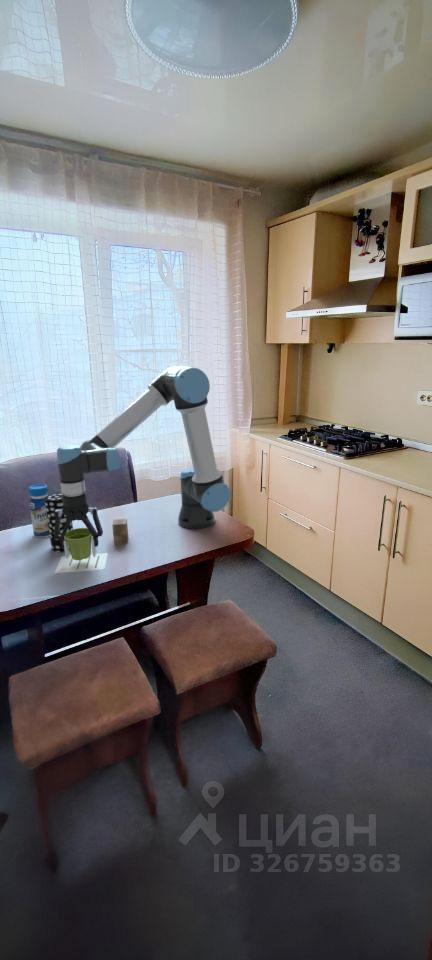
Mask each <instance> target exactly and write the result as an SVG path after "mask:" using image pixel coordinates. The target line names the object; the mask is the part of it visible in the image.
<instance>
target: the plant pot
mask: <svg viewBox="0 0 432 960" xmlns="http://www.w3.org/2000/svg"><path fill="white" fill-rule="evenodd" d="M64 538H65V539H66V541H67V543H68V546H69V549H70V550H69V553H70V556H72V558H73V559H74V560H82V559H87V558H89V557H90V555H91V554H92V553H91V552H92V542H91V538H92V534H91V533H90V532H89V530H88V528H87V527H77V528H73V530H70V531H68V532H66V535H65V536H64Z"/></svg>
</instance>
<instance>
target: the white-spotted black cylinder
mask: <svg viewBox="0 0 432 960" xmlns="http://www.w3.org/2000/svg"><path fill="white" fill-rule="evenodd" d="M47 495H48V496H46V497H45V498H44V499H45V506H46V513H47V520H48V527H49V534H50V536H49V539H50V540H49V541H50V546H51V548H50V549H51V551H53V552H55V553H65V549H62V548H61V542H60V540H59V539H54V530H55V516H54V512H55V510H56V509H58V510H61V509H63V500H62V495H63V494H62V493H61V492H57V493H52V494H47ZM67 518H68V517H67V516H66V515H65V514H64V513H62V515H61V519H60V531H59V534H60V535H61V534H62V531H63V529H64V526H65V523H66V520H67ZM73 529H74V526H73V521H72V520H71V522H70V524H69V527H68V530H67V532H68V531H70V530H73ZM68 547H69V546H68ZM69 551H70V549H69Z"/></svg>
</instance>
